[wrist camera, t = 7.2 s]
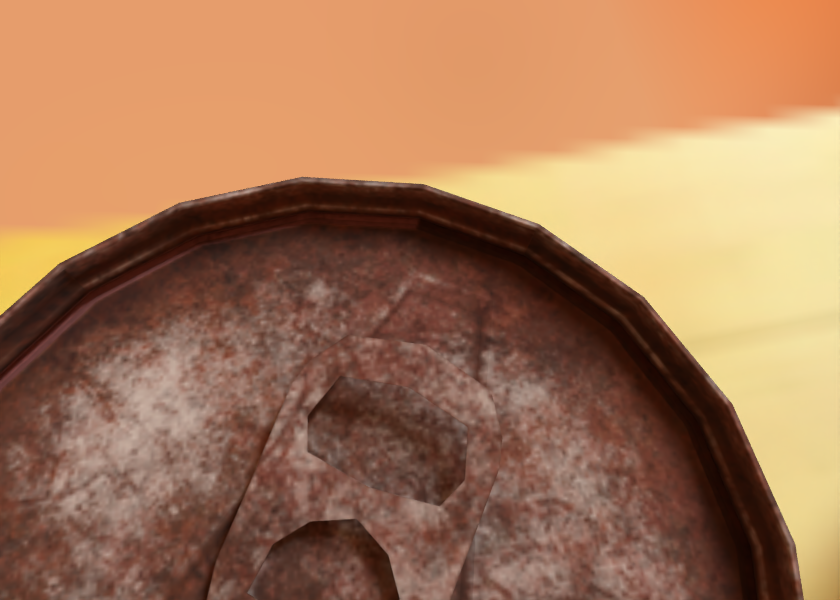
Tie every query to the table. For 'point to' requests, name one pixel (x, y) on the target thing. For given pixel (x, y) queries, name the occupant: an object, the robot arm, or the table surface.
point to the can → (366, 416)
